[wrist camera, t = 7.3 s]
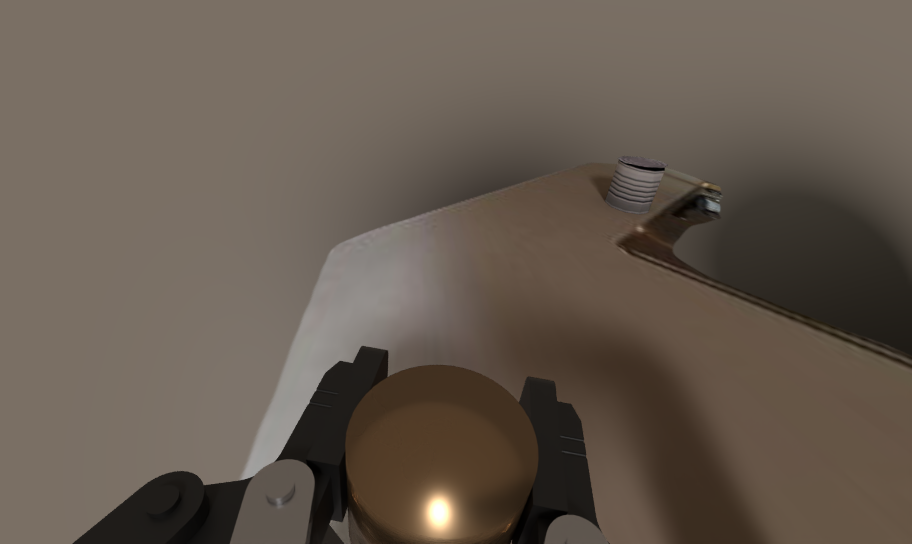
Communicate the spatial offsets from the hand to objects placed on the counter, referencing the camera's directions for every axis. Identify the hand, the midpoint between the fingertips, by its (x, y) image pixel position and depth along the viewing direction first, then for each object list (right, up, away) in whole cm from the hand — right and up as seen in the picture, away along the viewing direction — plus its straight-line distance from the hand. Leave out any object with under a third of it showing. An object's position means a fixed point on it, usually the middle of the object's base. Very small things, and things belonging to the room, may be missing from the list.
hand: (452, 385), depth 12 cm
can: (+44, +21, +94) cm, 106 cm away
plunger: (-3, -17, +8) cm, 19 cm away
